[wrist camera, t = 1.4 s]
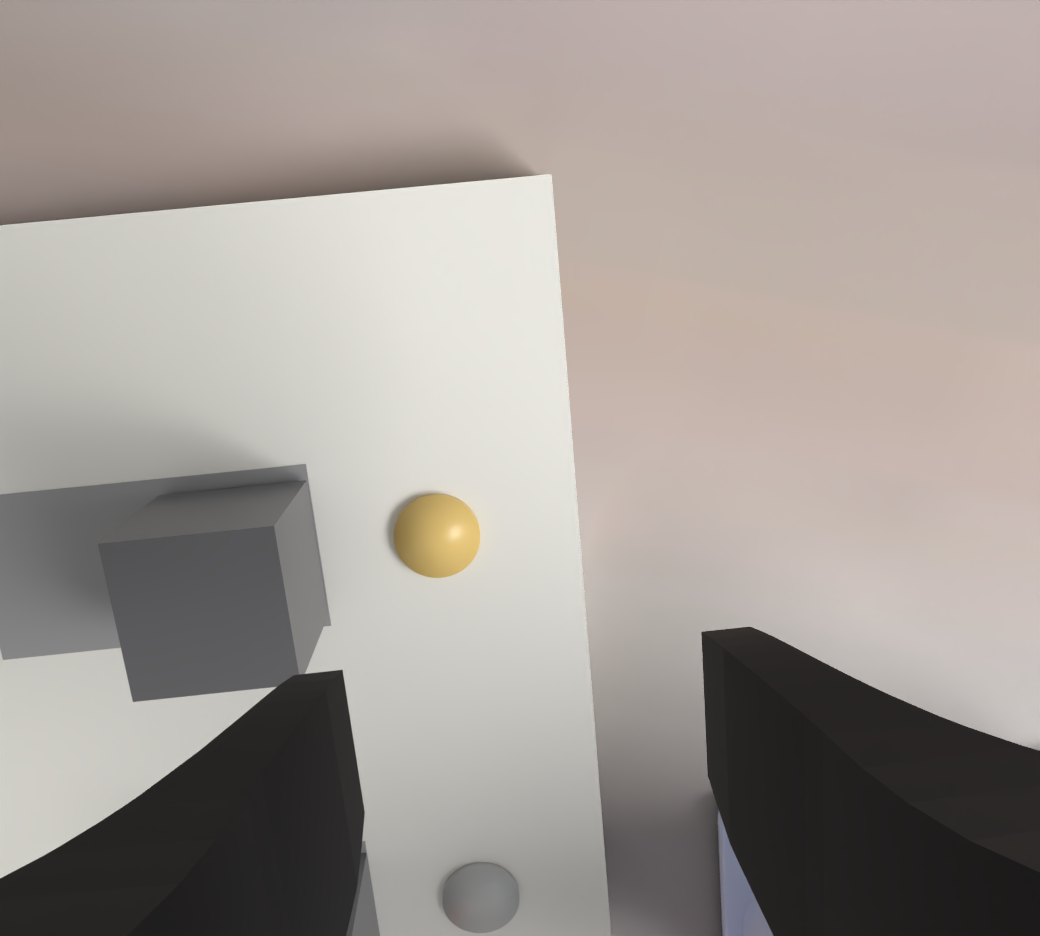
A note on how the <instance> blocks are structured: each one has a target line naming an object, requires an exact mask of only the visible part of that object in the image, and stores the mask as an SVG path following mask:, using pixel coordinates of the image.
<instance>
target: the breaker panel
mask: <svg viewBox="0 0 1040 936" xmlns="http://www.w3.org/2000/svg"><path fill="white" fill-rule="evenodd" d="M297 481H307V487H308V493H309V500H310V506H311V512H312V519H313V525H314V532H315V538H316V544H317V551H318V557H319V563H320V570H321V576H322V582H323V589H324V595H325V602H326V608H327V614H328V617H327V620H326V622H325V625H324V627H323V630H322V632H321V635H320V637H319V640H318V642H317V645H316V647H315V650H314V652H313V655H312V657H311V660H310V662H309V665H308V667H307V670H306V672H305V674H308V673H318V672H327V671H336V670H343V676H344V682H345V689H346V695H347V701H348V708H349V714H350V721H351V727H352V734H353V740H354V747H355V753H356V759H357V766H358V772H359V779H360V785H361V792H362V798H363V804H364V811H365V816H364V827H363V838H362V849H361V858H360V868H359V877H358V886H357V890H356V895H355V899H354V904H353V908H352V913H351V917H350V921H349V926H348V930H347V934H346V936H611V924H610V912H609V899H608V886H607V874H606V861H605V848H604V835H603V823H602V810H601V797H600V785H599V772H598V759H597V746H596V734H595V721H594V708H593V696H592V683H591V670H590V658H589V645H588V632H587V619H586V607H585V594H584V581H583V569H582V556H581V543H580V530H579V518H578V505H577V492H576V480H575V467H574V454H573V441H572V429H571V416H570V403H569V391H568V378H567V365H566V352H565V340H564V327H563V314H562V302H561V289H560V276H559V263H558V251H557V238H556V225H555V213H554V200H553V187H552V174H548V175H537V176H526V177H515V178H505V179H494V180H483V181H472V182H462V183H451V184H440V185H429V186H419V187H408V188H397V189H386V190H375V191H365V192H354V193H343V194H332V195H322V196H311V197H300V198H289V199H279V200H268V201H257V202H246V203H235V204H225V205H214V206H203V207H192V208H182V209H171V210H160V211H149V212H139V213H128V214H117V215H106V216H95V217H85V218H74V219H63V220H52V221H42V222H31V223H20V224H9V225H0V878H2V877H4V876H6V875H8V874H9V873H11V872H13V871H15V870H17V869H19V868H21V867H23V866H25V865H27V864H29V863H31V862H32V861H34V860H36V859H38V858H40V857H42V856H44V855H46V854H47V853H49V852H51V851H52V850H54V849H56V848H58V847H59V846H61V845H63V844H64V843H66V842H68V841H69V840H71V839H73V838H74V837H76V836H77V835H79V834H81V833H82V832H84V831H86V830H87V829H89V828H91V827H92V826H94V825H95V824H97V823H99V822H100V821H102V820H103V819H105V818H107V817H108V816H110V815H111V814H113V813H114V812H116V811H117V810H119V809H120V808H122V807H123V806H125V805H126V804H128V803H129V802H131V801H132V800H133V799H135V798H136V797H138V796H139V795H141V794H142V793H143V792H145V791H146V790H147V789H149V788H150V787H151V786H153V785H154V784H155V783H157V782H158V781H159V780H161V779H162V778H163V777H165V776H166V775H167V774H169V773H170V772H171V771H173V770H174V769H175V768H177V767H178V766H179V765H181V764H182V763H184V762H185V761H186V760H188V759H189V758H190V757H192V756H193V755H194V754H196V753H197V752H198V751H200V750H201V749H202V748H203V747H205V746H206V745H207V744H208V743H209V742H211V741H212V740H213V739H214V738H216V737H217V736H218V735H219V734H220V733H222V732H223V731H224V730H225V729H226V728H228V727H229V726H230V725H231V724H233V723H234V722H235V721H236V720H237V719H239V718H240V717H241V716H242V715H243V714H245V713H246V712H247V711H248V710H249V709H251V708H252V707H253V706H254V705H255V704H257V703H258V702H259V701H260V700H261V699H263V698H264V697H265V696H266V695H268V694H269V693H270V692H271V691H272V690H274V689H275V688H276V687H270V688H261V689H251V690H242V691H233V692H223V693H214V694H204V695H195V696H185V697H176V698H166V699H157V700H148V701H138V702H133V700H132V696H131V691H130V687H129V682H128V678H127V673H126V669H125V664H124V660H123V655H122V651H121V646H120V642H119V637H118V633H117V628H116V624H115V619H114V615H113V610H112V606H111V601H110V597H109V592H108V588H107V583H106V579H105V574H104V570H103V565H102V561H101V556H100V552H99V547H98V543H99V542H101V541H102V540H103V539H104V538H106V537H107V536H108V535H109V534H111V533H112V532H113V531H115V530H116V529H117V528H118V527H120V526H121V525H122V524H123V523H125V522H126V521H127V520H128V519H130V518H131V517H132V516H133V515H135V514H136V513H137V512H138V511H140V510H141V509H142V508H143V507H145V506H146V505H147V504H149V503H150V502H151V501H152V500H154V499H155V498H156V497H157V496H159V495H168V494H178V493H188V492H198V491H207V490H217V489H227V488H237V487H247V486H257V485H267V484H277V483H287V482H297Z"/></svg>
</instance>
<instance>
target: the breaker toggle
mask: <svg viewBox="0 0 1040 936" xmlns="http://www.w3.org/2000/svg"><path fill="white" fill-rule="evenodd" d="M98 547H99V552H100V556H101V561H102V565H103V570H104V574H105V579H106V583H107V588H108V592H109V597H110V601H111V606H112V610H113V615H114V619H115V624H116V628H117V633H118V637H119V642H120V646H121V651H122V655H123V660H124V664H125V669H126V673H127V678H128V682H129V687H130V691H131V696H132V700H133V702H138V701H148V700H157V699H166V698H176V697H185V696H195V695H204V694H214V693H223V692H233V691H242V690H251V689H261V688H270V687H278V686H279V685H280V684H281V683H283V682H284V681H286V680H287V679H289V678H290V677H292V676H293V675H299V674H305V672H306V670H307V667H308V665H309V662H310V660H311V657H312V655H313V652H314V650H315V647H316V645H317V642H318V640H319V637H320V635H321V632H322V630H323V627H324V625H325V622H326V620H327V617H328V614H327V608H326V602H325V595H324V589H323V582H322V576H321V570H320V563H319V557H318V551H317V544H316V538H315V532H314V525H313V519H312V512H311V506H310V500H309V493H308V487H307V481H297V482H287V483H277V484H267V485H257V486H247V487H237V488H227V489H217V490H207V491H198V492H188V493H178V494H168V495H159V496H157V497H156V498H155V499H154V500H152V501H151V502H150V503H149V504H147V505H146V506H145V507H143V508H142V509H141V510H140V511H138V512H137V513H136V514H135V515H133V516H132V517H131V518H130V519H128V520H127V521H126V522H125V523H123V524H122V525H121V526H120V527H118V528H117V529H116V530H115V531H113V532H112V533H111V534H109V535H108V536H107V537H106V538H104V539H103V540H102V541H101V542H99V543H98Z"/></svg>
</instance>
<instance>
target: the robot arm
mask: <svg viewBox="0 0 1040 936" xmlns="http://www.w3.org/2000/svg"><path fill="white" fill-rule="evenodd" d="M702 652H703V674H704V697H705V720H706V743H707V766H708V777H709V780H710V783H711V787H712V790H713V793H714V796H715V799H716V803H717V806H718V809H719V811H718V837H719V862H720V886H721V910H722V934H723V936H1040V751H1038V750H1034V749H1031V748H1028V747H1024V746H1021V745H1018V744H1015V743H1012V742H1009V741H1006V740H1004V739H1001V738H998V737H995V736H992V735H989V734H986V733H983V732H980V731H977V730H974V729H971V728H968V727H966V726H963V725H960V724H958V723H955V722H952V721H950V720H947V719H945V718H942V717H940V716H937V715H935V714H932V713H930V712H928V711H925V710H923V709H921V708H918V707H916V706H914V705H911V704H909V703H907V702H904V701H902V700H900V699H898V698H895V697H893V696H891V695H888V694H886V693H884V692H882V691H880V690H878V689H876V688H873V687H871V686H869V685H867V684H865V683H863V682H861V681H859V680H857V679H855V678H853V677H851V676H849V675H847V674H845V673H843V672H841V671H839V670H837V669H835V668H833V667H831V666H829V665H827V664H825V663H823V662H821V661H819V660H817V659H815V658H813V657H812V656H810V655H808V654H806V653H804V652H802V651H800V650H798V649H796V648H794V647H792V646H790V645H788V644H786V643H785V642H783V641H781V640H779V639H777V638H775V637H773V636H770V635H768V634H766V633H764V632H762V631H759V630H757V629H754V628H752V627H743V628H734V629H725V630H715V631H706V632H702ZM364 816H365V811H364V804H363V798H362V792H361V785H360V779H359V772H358V766H357V759H356V753H355V747H354V740H353V734H352V727H351V721H350V714H349V708H348V701H347V695H346V689H345V682H344V676H343V670H336V671H327V672H318V673H308V674H299V675H293V676H292V677H290V678H289V679H287V680H286V681H284V682H283V683H281V684H280V685H279V686H278V687H276V688H275V689H274V690H272V691H271V692H270V693H269V694H268V695H266V696H265V697H264V698H263V699H261V700H260V701H259V702H258V703H257V704H255V705H254V706H253V707H252V708H251V709H249V710H248V711H247V712H246V713H245V714H243V715H242V716H241V717H240V718H239V719H237V720H236V721H235V722H234V723H233V724H231V725H230V726H229V727H228V728H226V729H225V730H224V731H223V732H222V733H220V734H219V735H218V736H217V737H216V738H214V739H213V740H212V741H211V742H209V743H208V744H207V745H206V746H205V747H203V748H202V749H201V750H200V751H198V752H197V753H196V754H194V755H193V756H192V757H190V758H189V759H188V760H186V761H185V762H184V763H182V764H181V765H179V766H178V767H177V768H175V769H174V770H173V771H171V772H170V773H169V774H167V775H166V776H165V777H163V778H162V779H161V780H159V781H158V782H157V783H155V784H154V785H153V786H151V787H150V788H149V789H147V790H146V791H145V792H143V793H142V794H141V795H139V796H138V797H136V798H135V799H133V800H132V801H131V802H129V803H128V804H126V805H125V806H123V807H122V808H120V809H119V810H117V811H116V812H114V813H113V814H111V815H110V816H108V817H107V818H105V819H103V820H102V821H100V822H99V823H97V824H95V825H94V826H92V827H91V828H89V829H87V830H86V831H84V832H82V833H81V834H79V835H77V836H76V837H74V838H73V839H71V840H69V841H68V842H66V843H64V844H63V845H61V846H59V847H58V848H56V849H54V850H52V851H51V852H49V853H47V854H46V855H44V856H42V857H40V858H38V859H36V860H34V861H32V862H31V863H29V864H27V865H25V866H23V867H21V868H19V869H17V870H15V871H13V872H11V873H9V874H8V875H6V876H4V877H2V878H0V936H346V934H347V930H348V926H349V921H350V917H351V913H352V908H353V904H354V899H355V895H356V890H357V886H358V877H359V868H360V858H361V849H362V838H363V827H364Z"/></svg>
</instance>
